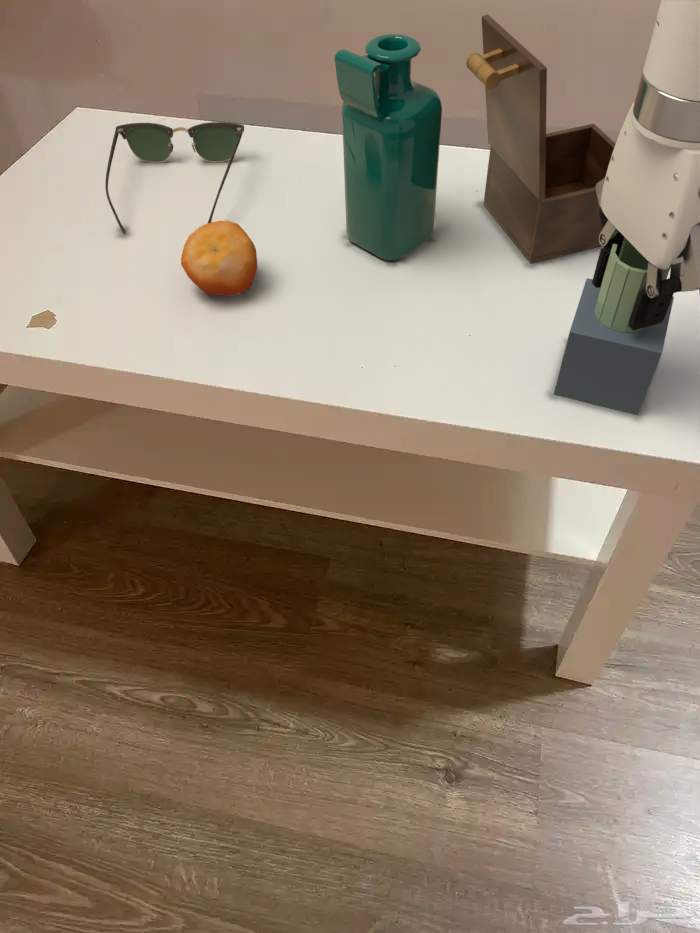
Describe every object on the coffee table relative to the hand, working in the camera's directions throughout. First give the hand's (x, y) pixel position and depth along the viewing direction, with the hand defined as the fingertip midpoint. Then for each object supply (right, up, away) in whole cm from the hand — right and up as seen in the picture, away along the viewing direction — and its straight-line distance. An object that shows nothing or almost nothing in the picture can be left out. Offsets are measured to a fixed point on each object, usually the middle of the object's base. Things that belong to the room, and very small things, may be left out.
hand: (626, 301), depth 70 cm
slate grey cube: (0, -6, +7) cm, 9 cm away
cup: (0, -1, +1) cm, 1 cm away
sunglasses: (-46, +20, +29) cm, 58 cm away
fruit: (-39, +5, +18) cm, 43 cm away
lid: (-7, +22, +10) cm, 25 cm away
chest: (0, +15, +24) cm, 28 cm away
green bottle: (-20, +12, +22) cm, 33 cm away
